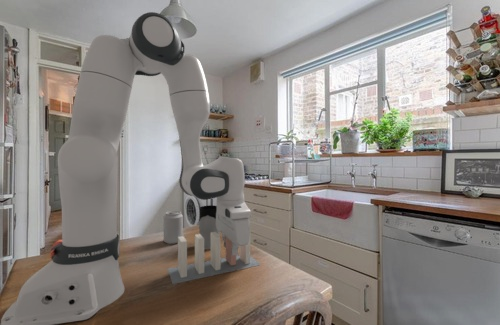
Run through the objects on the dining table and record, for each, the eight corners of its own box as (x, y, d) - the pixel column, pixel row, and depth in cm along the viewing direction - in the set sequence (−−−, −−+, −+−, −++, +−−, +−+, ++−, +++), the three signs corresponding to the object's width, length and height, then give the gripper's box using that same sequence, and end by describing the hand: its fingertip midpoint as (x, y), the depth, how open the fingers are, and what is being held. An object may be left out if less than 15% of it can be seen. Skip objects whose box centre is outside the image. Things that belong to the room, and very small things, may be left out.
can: (165, 238, 101) (165, 210, 101) (183, 237, 102) (183, 209, 102) (161, 245, 94) (161, 214, 94) (182, 244, 95) (181, 213, 95)
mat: (172, 285, 64) (172, 284, 64) (167, 269, 73) (167, 268, 73) (261, 265, 76) (261, 264, 76) (247, 254, 85) (247, 253, 85)
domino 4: (231, 265, 74) (231, 233, 74) (225, 259, 79) (225, 228, 79) (236, 264, 75) (236, 232, 75) (230, 258, 80) (230, 228, 79)
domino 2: (198, 273, 70) (198, 239, 70) (194, 266, 74) (194, 234, 74) (204, 272, 71) (204, 238, 70) (199, 265, 75) (199, 233, 75)
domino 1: (181, 277, 68) (181, 242, 68) (178, 270, 72) (177, 236, 72) (186, 276, 68) (186, 241, 68) (183, 269, 73) (183, 236, 73)
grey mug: (195, 250, 89) (195, 209, 89) (203, 237, 103) (203, 202, 103) (219, 250, 89) (219, 209, 88) (224, 237, 103) (224, 202, 102)
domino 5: (245, 264, 77) (245, 232, 76) (239, 258, 81) (239, 228, 81) (250, 263, 77) (250, 232, 77) (243, 257, 82) (243, 227, 82)
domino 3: (215, 270, 72) (215, 237, 72) (210, 263, 77) (210, 232, 76) (220, 269, 73) (220, 236, 73) (215, 262, 77) (215, 231, 77)
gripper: (211, 202, 85) (211, 241, 85) (233, 215, 66) (233, 265, 66) (228, 201, 87) (227, 239, 88) (253, 212, 69) (253, 261, 69)
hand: (230, 250), depth 77 cm, fingers closed on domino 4, 5 cm apart
